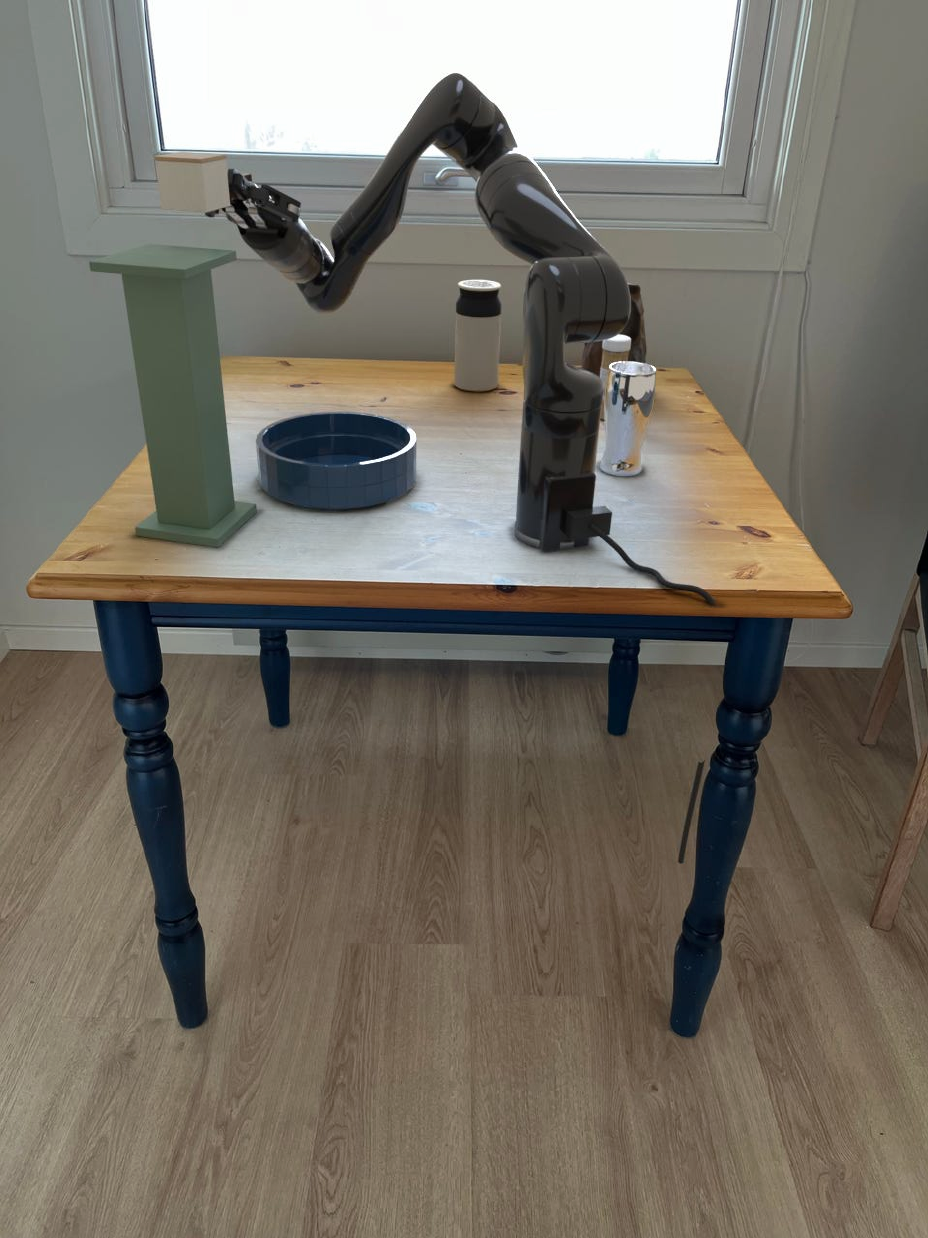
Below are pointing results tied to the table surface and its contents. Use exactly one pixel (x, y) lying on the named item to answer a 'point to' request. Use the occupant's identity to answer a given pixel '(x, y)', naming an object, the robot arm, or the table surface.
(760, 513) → the table surface
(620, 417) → the beer glass
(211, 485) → the stand
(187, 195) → the mallet with brown handle
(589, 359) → the owl
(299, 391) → the table surface
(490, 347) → the travel mug
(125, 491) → the table surface
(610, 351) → the sprinkles bottle
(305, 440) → the bowl
